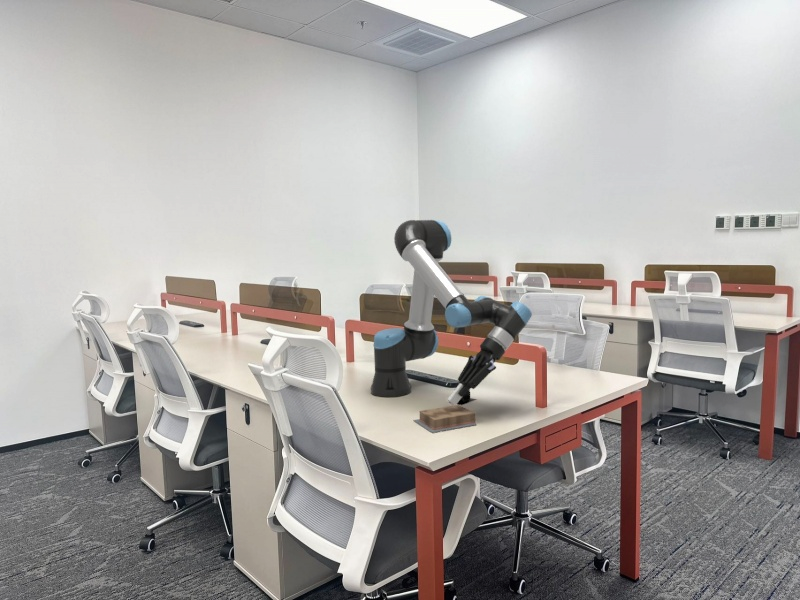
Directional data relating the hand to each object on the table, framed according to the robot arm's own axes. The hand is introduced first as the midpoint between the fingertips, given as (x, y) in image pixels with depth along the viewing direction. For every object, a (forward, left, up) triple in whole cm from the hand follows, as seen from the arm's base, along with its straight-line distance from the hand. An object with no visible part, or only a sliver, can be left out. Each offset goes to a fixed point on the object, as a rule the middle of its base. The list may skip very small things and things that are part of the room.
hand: (451, 402), depth 172 cm
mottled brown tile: (+2, +5, -4) cm, 7 cm away
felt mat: (-1, -2, -6) cm, 7 cm away
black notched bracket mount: (-12, +20, -7) cm, 25 cm away
